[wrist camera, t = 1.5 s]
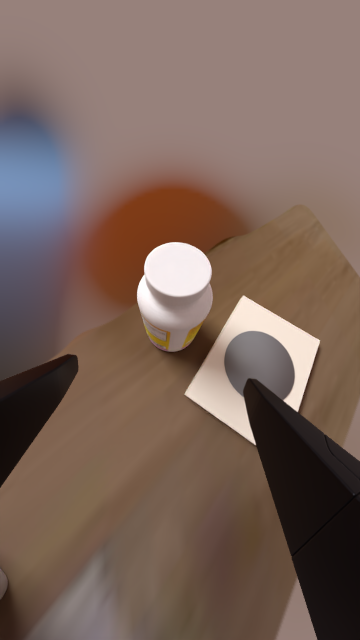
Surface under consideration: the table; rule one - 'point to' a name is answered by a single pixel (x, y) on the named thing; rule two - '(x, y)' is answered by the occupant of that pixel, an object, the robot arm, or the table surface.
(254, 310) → the base
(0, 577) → the power adapter
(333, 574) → the robot arm
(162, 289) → the supplement bottle
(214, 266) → the table surface
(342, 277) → the table surface
